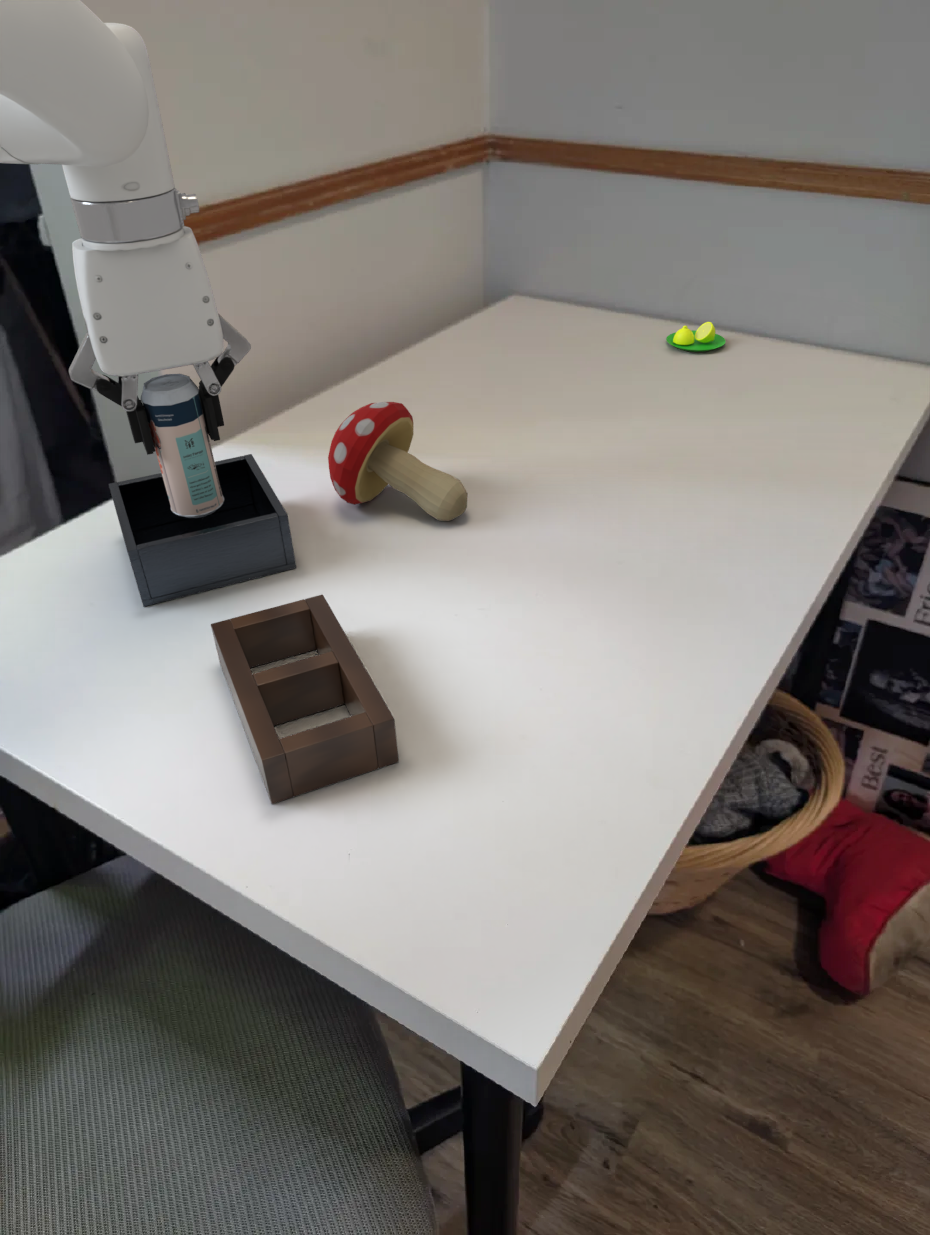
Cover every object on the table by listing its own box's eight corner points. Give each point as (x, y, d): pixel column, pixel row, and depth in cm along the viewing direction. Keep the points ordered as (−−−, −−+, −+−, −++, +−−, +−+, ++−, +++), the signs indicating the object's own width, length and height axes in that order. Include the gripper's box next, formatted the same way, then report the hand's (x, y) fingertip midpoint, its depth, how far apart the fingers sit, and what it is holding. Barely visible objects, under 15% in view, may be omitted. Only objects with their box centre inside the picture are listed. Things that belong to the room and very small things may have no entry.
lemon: (707, 332, 131) (710, 312, 129) (735, 350, 125) (738, 329, 123) (655, 338, 129) (657, 318, 128) (681, 357, 123) (684, 336, 121)
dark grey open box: (143, 607, 79) (127, 551, 76) (123, 535, 89) (108, 483, 86) (296, 568, 83) (287, 514, 80) (260, 504, 94) (251, 453, 90)
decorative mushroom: (506, 465, 93) (387, 392, 96) (478, 452, 82) (344, 370, 85) (451, 559, 95) (336, 485, 98) (416, 559, 84) (288, 475, 87)
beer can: (191, 493, 86) (159, 369, 79) (235, 499, 85) (207, 374, 78) (161, 518, 83) (125, 391, 76) (207, 524, 81) (174, 396, 74)
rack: (271, 804, 60) (261, 760, 58) (220, 664, 72) (210, 623, 70) (399, 762, 63) (394, 718, 60) (328, 634, 75) (322, 593, 73)
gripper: (230, 196, 75) (266, 407, 85) (7, 223, 69) (75, 445, 80) (252, 214, 69) (287, 438, 80) (10, 244, 64) (83, 480, 74)
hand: (180, 439), depth 80 cm, fingers closed on beer can, 4 cm apart
